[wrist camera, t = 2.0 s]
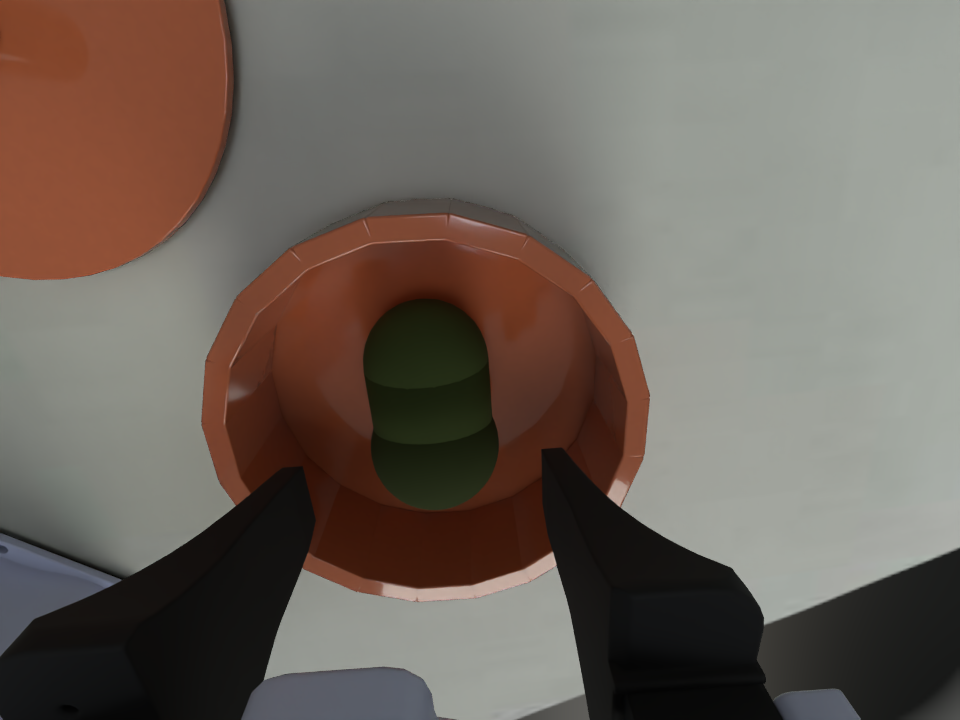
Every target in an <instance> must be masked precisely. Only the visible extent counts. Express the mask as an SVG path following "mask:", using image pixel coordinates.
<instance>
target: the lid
mask: <svg viewBox="0 0 960 720" xmlns="http://www.w3.org/2000/svg"><path fill="white" fill-rule="evenodd" d="M233 86H234V74H233V57H232V42H231V36H230V30H229V25H228V19H227V13H226V7H225V2H224V0H0V276H3V277H12V278H21V279H31V280H53V279H69V278H75V277H82V276H89V275H93V274H96V273H100V272H103V271H106V270H110V269H113V268H116V267H119V266H122V265H124V264H126V263H129V262H131V261H133V260H135V259H137V258H139V257H141V256H143V255H145V254H147V253H149V252H150V251H152V250H153V249H154V248H156V247H157V246H159V245H160V244H162V243H163V242H165V241H166V240H167V239H169V238H170V237H171V236H172V235H173V234H174V233H175V232H176V231H177V230H178V229H179V228H180V227H181V226H182V225H183V224H184V223H185V222H186V221H187V220H188V219H189V217H190V216H191V215H192V213H193V212H194V211H195V209H196V208H197V206H198V205H199V204H200V202H201V201H202V200H203V198H204V196H205V194H206V192H207V190H208V188H209V187H210V185H211V183H212V181H213V179H214V177H215V175H216V173H217V170H218V167H219V164H220V161H221V158H222V155H223V152H224V149H225V146H226V142H227V137H228V131H229V126H230V121H231V116H232V103H233Z"/></svg>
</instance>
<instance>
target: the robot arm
mask: <svg viewBox="0 0 960 720" xmlns="http://www.w3.org/2000/svg"><path fill="white" fill-rule="evenodd" d="M541 458H542V504H543V510H544V516H545V522H546V528H547V534H548V537H549V541H550V544H551V548H552V551H553V554H554V558H555V561H556V564H557V568H558V571H559V575H560V578H561V581H562V585H563V588H564V591H565V595H566V598H567V602H568V606H569V610H570V614H571V619H572V624H573V629H574V635H575V640H576V645H577V650H578V656H579V661H580V667H581V672H582V678H583V683H584V689H585V695H586V700H587V706H588V712H589V718H590V720H861V719H860V717H859V716H858V715H857V713H856V712H855V710H854V709H853V707H852V706H851V704H850V703H849V702H848V700H847V699H846V697H845V696H844V694H843V693H842V692H841V691H840V690H838V689H823V690H809V691H796V692H788V693H783V694H781V695H780V696H778V697H776V698H775V699H774V701H772V699H771V697H770V696H769V694H768V692H767V690H766V689H765V686H764V685H763V684H764V683H765V682H766V677H765V674H764V672H763V670H762V669H761V667H760V665H759V664H758V662H757V655H758V651H759V647H760V642H761V638H762V633H763V628H764V617H763V614H762V611H761V609H760V607H759V605H758V603H757V602H756V600H755V599H754V597H753V596H752V594H751V593H750V591H749V590H748V588H747V587H746V586H745V584H744V583H743V582H742V581H741V579H740V578H739V577H738V576H737V574H736V573H735V572H734V570H733V569H732V568H730V567H728V566H725V565H723V564H720V563H718V562H715V561H713V560H710V559H708V558H706V557H703V556H701V555H698V554H696V553H694V552H692V551H690V550H688V549H686V548H684V547H682V546H680V545H678V544H676V543H674V542H672V541H670V540H668V539H666V538H665V537H663V536H661V535H660V534H658V533H656V532H655V531H653V530H651V529H650V528H648V527H647V526H645V525H644V524H642V523H641V522H639V521H638V520H636V519H635V518H634V517H632V516H631V515H629V514H628V513H627V512H625V511H624V510H623V509H621V508H620V507H619V506H618V505H617V504H616V503H614V502H613V501H612V500H611V499H610V498H609V497H608V496H607V495H605V494H604V493H603V492H602V491H601V490H600V489H599V488H598V487H597V486H596V485H595V484H594V483H593V482H592V481H591V480H590V479H589V478H588V477H587V476H586V474H585V473H584V472H583V471H582V470H581V469H580V468H579V467H578V466H577V464H576V463H575V462H574V461H573V460H572V459H571V457H570V456H569V455H568V454H567V452H566V451H565V450H564V449H563V448H562V447H561V448H547V449H541ZM315 523H316V518H315V514H314V510H313V506H312V502H311V497H310V493H309V489H308V485H307V481H306V477H305V473H304V469H303V466H297V467H283V468H281V469H280V470H279V471H277V472H276V473H275V474H274V475H272V476H271V477H270V478H269V479H268V480H266V481H265V482H264V483H263V484H262V485H260V486H259V487H258V488H257V489H256V490H255V491H253V492H252V493H251V494H250V495H249V496H247V497H246V498H245V499H244V500H243V501H241V502H240V503H239V504H238V505H237V506H235V507H234V508H233V509H232V510H230V511H229V512H228V513H227V514H225V515H224V516H223V517H221V518H220V519H219V520H217V521H216V522H215V523H214V524H212V525H211V526H210V527H208V528H207V529H206V530H204V531H203V532H202V533H200V534H199V535H197V536H196V537H194V538H193V539H192V540H190V541H189V542H187V543H186V544H184V545H182V546H181V547H179V548H178V549H176V550H175V551H173V552H172V553H170V554H168V555H167V556H165V557H163V558H162V559H160V560H158V561H156V562H155V563H153V564H151V565H149V566H147V567H146V568H144V569H142V570H140V571H139V572H137V573H135V574H133V575H131V576H130V577H128V578H126V579H124V580H121V579H119V578H116V577H113V576H111V575H108V574H106V573H103V572H100V571H98V570H95V569H93V568H90V567H87V566H85V565H82V564H80V563H77V562H74V561H72V560H69V559H67V558H64V557H62V556H59V555H56V554H54V553H51V552H49V551H46V550H43V549H41V548H38V547H36V546H33V545H30V544H28V543H25V542H23V541H20V540H18V539H15V538H12V537H10V536H7V535H5V534H2V533H0V720H455V719H448V718H442V717H437V716H436V713H435V711H434V705H433V699H432V694H431V692H430V690H429V688H428V687H427V685H426V683H425V682H424V680H423V679H422V678H420V677H419V676H417V675H415V674H413V673H411V672H409V671H407V670H405V669H401V668H391V667H373V668H360V669H346V670H332V671H318V672H305V673H291V674H284V675H281V676H277V677H273V678H270V679H267V680H264V676H265V673H266V669H267V665H268V662H269V658H270V655H271V651H272V648H273V644H274V640H275V637H276V634H277V631H278V628H279V625H280V622H281V620H282V617H283V615H284V612H285V610H286V607H287V605H288V602H289V600H290V597H291V595H292V592H293V590H294V587H295V585H296V582H297V580H298V577H299V575H300V572H301V569H302V567H303V564H304V562H305V559H306V557H307V554H308V551H309V547H310V544H311V540H312V536H313V531H314V527H315ZM263 680H264V681H263Z"/></svg>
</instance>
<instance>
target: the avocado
mask: <svg viewBox="0 0 960 720" xmlns="http://www.w3.org/2000/svg"><path fill="white" fill-rule="evenodd" d="M363 370H364V377H365V382H366V388H367V394H368V400H369V406H370V411H371V417H372V423H373V432H372V437H371V457H372V461H373V465H374V468H375V471H376V473H377V475H378V477H379V479H380V480H381V482H382V484H383V485H384V486H385V488H386V489H387V490H388V491H389V492H390V493H391V494H392V495H393V496H395V497H396V498H397V499H399V500H400V501H402V502H404V503H405V504H408V505H410V506H412V507H416V508H419V509H424V510H444V509H449V508H452V507H455V506H458V505H460V504H462V503H464V502H466V501H468V500H469V499H471V498H472V497H474V496H475V495H476V494H477V493H478V492H479V491H480V490H481V489H482V488H483V487H484V486H485V484H486V483H487V482H488V480H489V478H490V477H491V475H492V473H493V471H494V468H495V465H496V462H497V458H498V452H499V438H498V431H497V427H496V424H495V421H494V419H493V417H492V405H491V389H490V374H489V358H488V351H487V346H486V343H485V340H484V337H483V335H482V332H481V330H480V329H479V327H478V326H477V324H476V323H475V321H474V320H473V319H472V318H470V317H469V316H468V315H467V314H466V313H465V312H464V311H463V310H461V309H460V308H458V307H456V306H455V305H453V304H451V303H448V302H445V301H442V300H438V299H424V298H423V299H414V300H410V301H406V302H403V303H400V304H398V305H397V306H395V307H393V308H391V309H390V310H388V311H387V312H386V313H385V314H384V315H383V316H382V317H381V318H379V319H378V321H377V322H376V323H375V325H374V326H373V328H372V329H371V331H370V333H369V335H368V338H367V340H366V343H365V347H364V353H363Z"/></svg>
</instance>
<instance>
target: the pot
mask: <svg viewBox="0 0 960 720" xmlns="http://www.w3.org/2000/svg"><path fill="white" fill-rule="evenodd" d="M423 298H424V299H438V300H442V301H445V302H448V303H451V304H453V305H455V306H456V307H458V308H460V309H461V310H463V311H464V312H465V313H466V314H467V315H468V316H469V317H470V318H472V319H473V320H474V321H475V323H476V324H477V326H478V327H479V329H480V330H481V332H482V335H483V337H484V340H485V343H486V346H487V351H488V358H489V374H490V389H491V405H492V417H493V419H494V421H495V424H496V427H497V431H498V438H499V452H498V458H497V462H496V465H495V468H494V471H493V473H492V475H491V477H490V478H489V480H488V482H487V483H486V484H485V486H484V487H483V488H482V489H481V490H480V491H479V492H478V493H477V494H476V495H475V496H474V497H472V498H471V499H469V500H468V501H466V502H464V503H462V504H460V505H458V506H455V507H452V508H449V509H444V510H424V509H419V508H416V507H412V506H410V505H408V504H405V503H404V502H402V501H400V500H399V499H397V498H396V497H395V496H393V495H392V494H391V493H390V492H389V491H388V490H387V489H386V488H385V486H384V485H383V484H382V482H381V480H380V479H379V477H378V475H377V473H376V471H375V468H374V465H373V461H372V457H371V437H372V432H373V423H372V417H371V411H370V406H369V400H368V394H367V388H366V382H365V377H364V370H363V353H364V347H365V343H366V340H367V338H368V335H369V333H370V331H371V329H372V328H373V326H374V325H375V323H376V322H377V321H378V319H379V318H381V317H382V316H383V315H384V314H385V313H386V312H387V311H388V310H390V309H391V308H393V307H395V306H397V305H398V304H400V303H403V302H406V301H410V300H414V299H423ZM649 397H650V394H649V390H648V386H647V383H646V379H645V375H644V372H643V368H642V364H641V361H640V357H639V353H638V350H637V346H636V342H635V339H634V336H633V335H632V332H631V331H630V329H629V328H628V327H627V325H626V324H625V323H624V321H623V320H622V318H621V317H620V316H619V314H618V313H617V312H616V310H615V309H614V307H613V306H612V305H611V303H610V302H609V301H608V299H607V298H606V296H605V295H604V294H603V292H602V291H601V289H600V288H599V287H598V285H597V284H596V283H595V281H594V280H593V279H592V278H591V277H590V276H589V275H588V274H587V273H586V272H585V271H584V270H583V269H582V268H581V267H580V266H579V265H578V264H577V263H576V262H575V260H574V259H573V258H572V257H571V256H570V255H569V254H568V253H567V252H566V251H565V250H564V249H562V248H561V247H559V246H558V245H556V244H555V243H553V242H552V241H551V240H549V239H548V238H546V237H545V236H544V235H542V234H541V233H540V232H538V231H537V230H535V229H533V228H532V227H530V226H529V225H527V224H526V223H524V222H523V221H521V220H520V219H519V218H517V217H514V216H513V215H511V214H507V213H504V212H500V211H497V210H495V209H492V208H488V207H485V206H481V205H477V204H473V203H470V202H464V201H461V200H457V199H454V198H453V199H452V200H451V199H450V198H442V199H411V200H404V201H388V202H387V203H381V204H379V205H376V206H374V207H372V208H369V209H366V210H363V211H361V212H359V213H357V214H354V215H352V216H350V217H347V218H345V219H342V220H340V221H337V222H335V223H332V224H330V225H328V226H326V227H325V228H323V229H321V230H320V231H318V232H316V233H314V234H313V235H311V236H309V237H308V238H306V239H304V240H302V241H301V242H299V243H297V244H296V245H294V246H292V247H291V248H289V249H288V250H287V251H286V252H285V253H283V254H282V255H281V256H280V257H279V258H278V259H277V260H276V261H275V262H274V263H273V264H271V265H270V266H269V267H268V268H267V269H266V270H265V271H264V272H263V273H262V274H260V275H259V276H258V277H257V278H256V279H255V280H254V281H253V282H252V283H251V284H250V285H248V286H247V287H246V288H245V289H244V290H243V291H242V292H241V293H240V294H239V295H237V297H236V299H235V300H234V302H233V304H232V306H231V308H230V310H229V312H228V314H227V316H226V318H225V320H224V322H223V324H222V326H221V328H220V331H219V333H218V335H217V337H216V339H215V341H214V343H213V345H212V347H211V349H210V351H209V353H208V355H207V359H206V361H205V376H204V390H203V405H202V420H201V422H202V428H203V431H204V434H205V438H206V441H207V444H208V447H209V451H210V454H211V457H212V460H213V464H214V467H215V470H216V473H217V477H218V480H219V482H220V484H221V486H222V487H223V488H224V490H225V491H226V492H227V494H228V495H229V497H230V498H231V499H232V501H233V502H234V504H235V505H236V506H237V505H238V504H239V503H240V502H241V501H243V500H244V499H245V498H246V497H247V496H249V495H250V494H251V493H252V492H253V491H255V490H256V489H257V488H258V487H259V486H260V485H262V484H263V483H264V482H265V481H266V480H268V479H269V478H270V477H271V476H272V475H274V474H275V473H276V472H277V471H279V470H280V469H281V468H283V467H297V466H303V469H304V473H305V477H306V481H307V485H308V489H309V493H310V497H311V502H312V506H313V510H314V514H315V518H316V523H315V527H314V531H313V536H312V540H311V544H310V547H309V551H308V554H307V557H306V559H305V562H304V564H303V567H302V568H303V569H304V570H307V571H309V572H311V573H314V574H316V575H318V576H321V577H323V578H325V579H328V580H330V581H333V582H335V583H337V584H340V585H342V586H344V587H347V588H349V589H351V590H354V591H356V592H361V593H367V594H373V595H378V596H384V597H390V598H396V599H402V600H408V601H414V602H416V601H417V602H425V601H442V600H458V599H474V598H479V597H483V596H486V595H489V594H492V593H496V592H499V591H502V590H506V589H509V588H512V587H515V586H519V585H522V584H525V583H529V582H531V580H534V579H536V578H538V577H539V576H541V575H543V574H544V573H546V572H548V571H549V570H551V569H553V568H554V567H556V566H557V564H556V561H555V558H554V554H553V551H552V548H551V544H550V541H549V537H548V534H547V528H546V522H545V516H544V510H543V504H542V458H541V449H547V448H561V447H562V448H563V449H564V450H565V451H566V452H567V454H568V455H569V456H570V457H571V459H572V460H573V461H574V462H575V463H576V464H577V466H578V467H579V468H580V469H581V470H582V471H583V472H584V473H585V474H586V476H587V477H588V478H589V479H590V480H591V481H592V482H593V483H594V484H595V485H596V486H597V487H598V488H599V489H600V490H601V491H602V492H603V493H604V494H605V495H607V496H608V497H609V498H610V499H611V500H612V501H613V502H614V503H616V504H617V505H618V506H619V507H621V505H622V503H623V501H624V499H625V497H626V495H627V493H628V490H629V488H630V486H631V484H632V482H633V480H634V478H635V476H636V473H637V471H638V469H639V467H640V465H641V463H642V461H643V456H644V454H645V443H646V433H647V422H648V412H649V402H650V398H649Z"/></svg>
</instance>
